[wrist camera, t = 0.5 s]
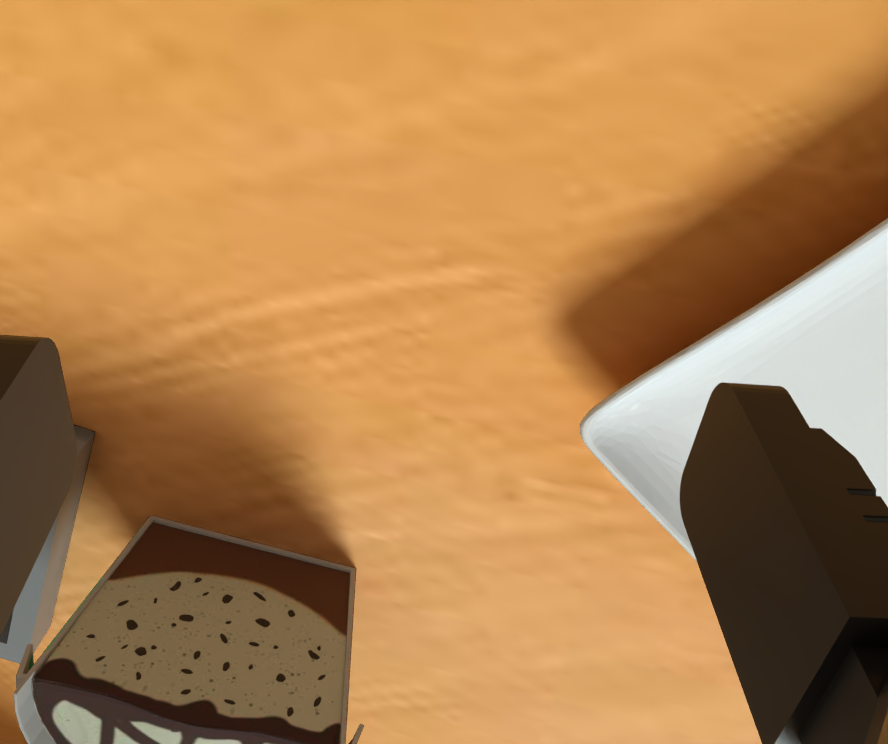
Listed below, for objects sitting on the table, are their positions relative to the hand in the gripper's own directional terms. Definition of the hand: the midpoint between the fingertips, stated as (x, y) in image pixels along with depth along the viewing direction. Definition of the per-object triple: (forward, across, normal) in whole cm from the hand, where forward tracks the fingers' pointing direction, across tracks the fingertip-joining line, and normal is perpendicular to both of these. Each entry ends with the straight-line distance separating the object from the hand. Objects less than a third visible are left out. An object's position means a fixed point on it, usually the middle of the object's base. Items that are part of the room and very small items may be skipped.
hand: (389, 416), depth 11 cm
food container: (+18, +6, +25) cm, 31 cm away
